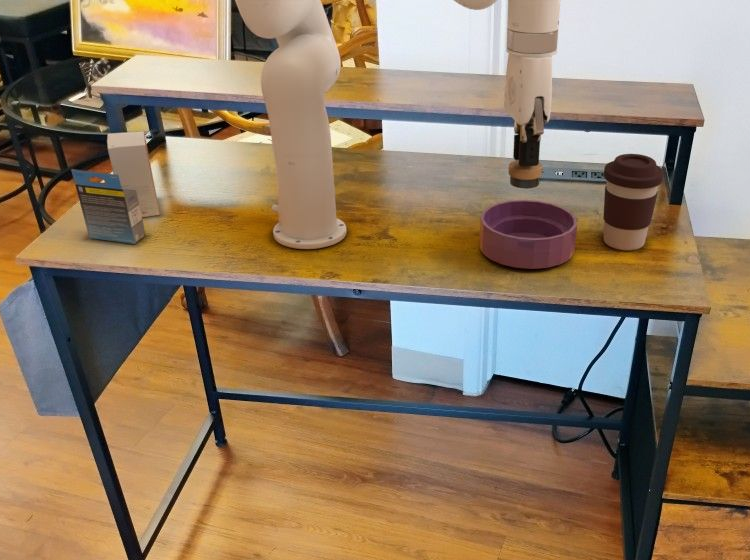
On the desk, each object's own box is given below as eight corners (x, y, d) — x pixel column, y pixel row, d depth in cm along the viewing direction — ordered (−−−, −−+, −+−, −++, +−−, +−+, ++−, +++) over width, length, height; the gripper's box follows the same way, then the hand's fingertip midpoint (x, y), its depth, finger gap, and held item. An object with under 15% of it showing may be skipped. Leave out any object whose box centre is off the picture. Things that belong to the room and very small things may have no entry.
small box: (160, 215, 151) (146, 144, 143) (122, 219, 149) (106, 148, 141) (158, 199, 157) (144, 130, 149) (122, 202, 155) (106, 133, 147)
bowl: (460, 251, 143) (460, 218, 139) (519, 223, 153) (522, 192, 149) (534, 282, 134) (536, 248, 131) (592, 251, 144) (596, 219, 141)
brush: (501, 183, 136) (503, 115, 129) (522, 174, 139) (525, 107, 133) (527, 192, 133) (530, 123, 126) (547, 183, 136) (552, 115, 130)
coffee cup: (614, 226, 153) (625, 145, 145) (662, 242, 148) (676, 159, 140) (584, 243, 147) (594, 160, 138) (633, 260, 142) (646, 175, 133)
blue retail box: (147, 235, 144) (132, 166, 137) (135, 245, 141) (119, 175, 133) (100, 229, 145) (83, 160, 138) (87, 238, 142) (69, 169, 135)
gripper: (493, 30, 129) (490, 147, 139) (523, 55, 116) (517, 182, 127) (539, 28, 130) (533, 144, 141) (574, 53, 118) (564, 178, 128)
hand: (525, 161), depth 134 cm, fingers closed on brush
